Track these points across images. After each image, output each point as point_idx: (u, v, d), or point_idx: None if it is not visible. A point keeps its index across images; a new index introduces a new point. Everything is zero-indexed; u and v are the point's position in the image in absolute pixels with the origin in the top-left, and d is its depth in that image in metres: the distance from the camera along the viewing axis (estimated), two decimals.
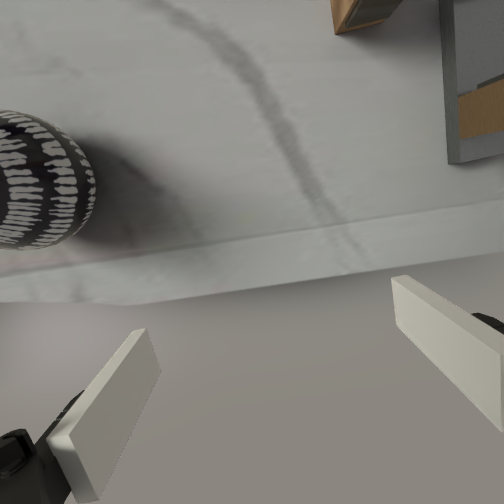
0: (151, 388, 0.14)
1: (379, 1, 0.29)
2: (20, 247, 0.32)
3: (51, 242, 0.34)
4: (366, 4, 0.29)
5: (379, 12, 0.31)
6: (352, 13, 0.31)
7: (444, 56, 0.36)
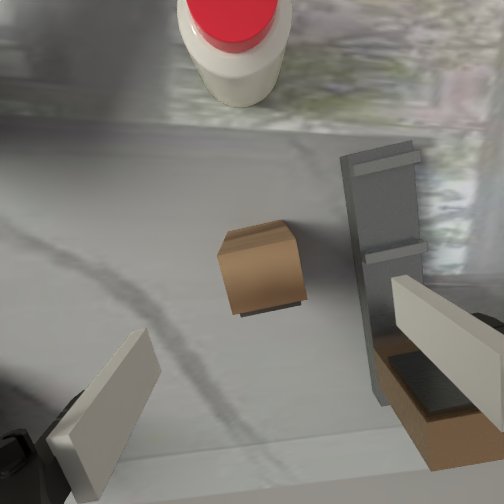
0: (151, 388, 0.14)
1: None
2: None
3: None
4: None
5: None
6: None
7: (360, 297, 0.32)
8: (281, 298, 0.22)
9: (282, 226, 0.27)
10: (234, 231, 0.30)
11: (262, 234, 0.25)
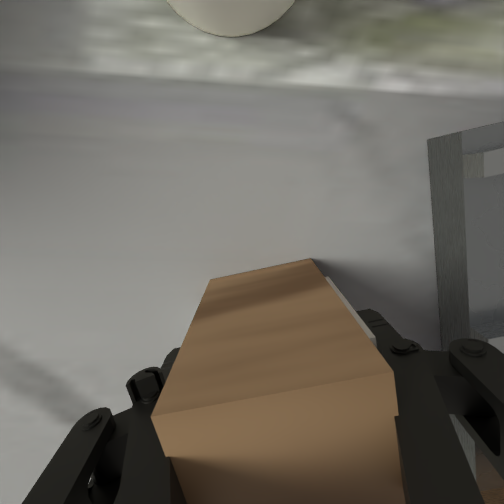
0: None
1: None
2: None
3: None
4: None
5: None
6: None
7: None
8: None
9: (320, 284, 0.12)
10: (221, 281, 0.16)
11: (279, 311, 0.11)
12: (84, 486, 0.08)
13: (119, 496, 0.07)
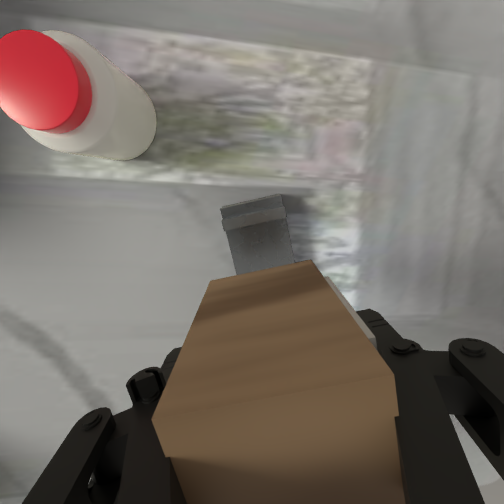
0: None
1: None
2: None
3: None
4: None
5: None
6: None
7: None
8: None
9: (320, 286, 0.12)
10: (221, 283, 0.16)
11: (279, 313, 0.11)
12: (84, 486, 0.08)
13: (118, 496, 0.07)
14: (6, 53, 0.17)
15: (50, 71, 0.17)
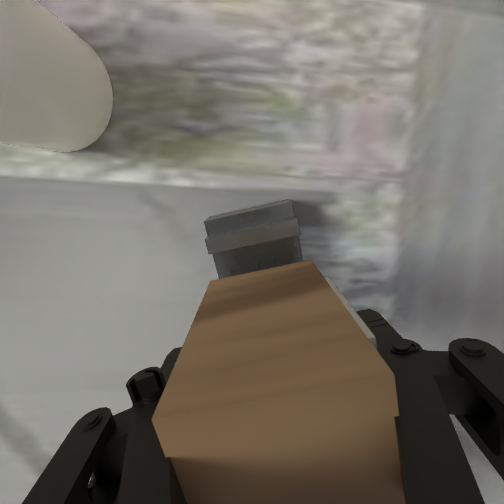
0: None
1: None
2: None
3: None
4: None
5: None
6: None
7: None
8: None
9: (320, 286, 0.12)
10: (221, 283, 0.16)
11: (279, 313, 0.11)
12: (84, 485, 0.08)
13: (118, 496, 0.07)
14: None
15: None
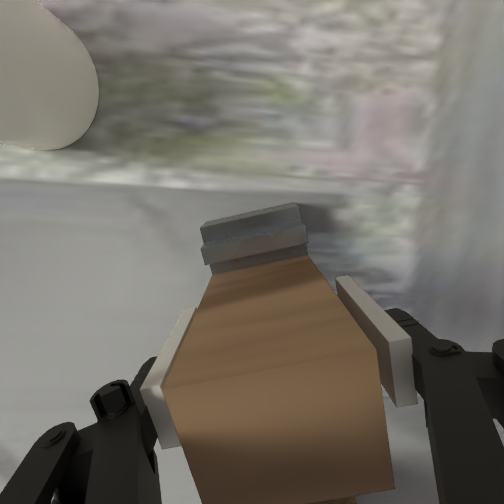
0: None
1: None
2: None
3: None
4: None
5: None
6: None
7: None
8: (329, 486, 0.09)
9: (315, 278, 0.13)
10: (223, 276, 0.17)
11: (277, 302, 0.12)
12: (47, 503, 0.07)
13: None
14: None
15: None
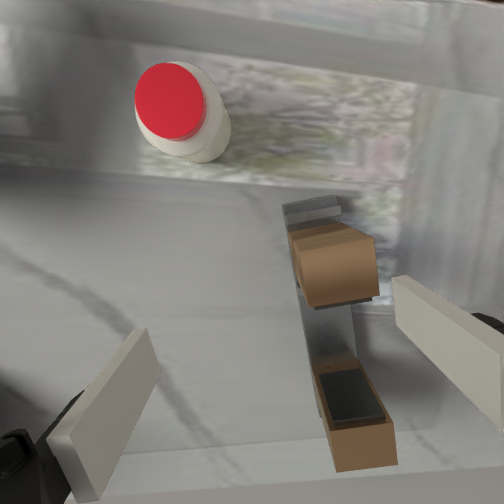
0: (151, 388, 0.14)
1: None
2: None
3: None
4: None
5: None
6: None
7: (302, 321, 0.38)
8: (355, 294, 0.24)
9: (347, 228, 0.29)
10: (295, 232, 0.32)
11: (331, 234, 0.27)
12: None
13: None
14: (151, 80, 0.22)
15: (183, 93, 0.22)
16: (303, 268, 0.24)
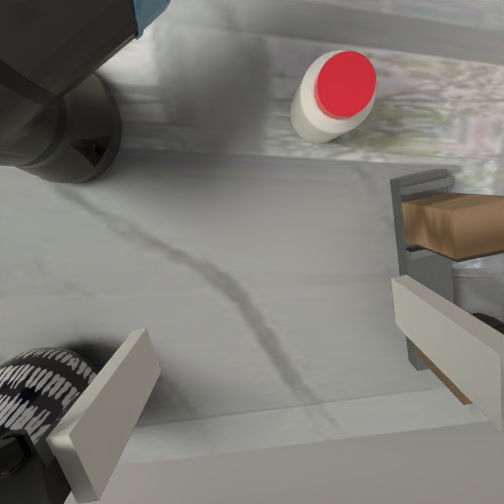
0: (151, 388, 0.14)
1: None
2: None
3: None
4: None
5: None
6: (431, 249, 0.34)
7: None
8: (496, 245, 0.28)
9: (467, 194, 0.33)
10: (410, 202, 0.36)
11: (460, 199, 0.31)
12: None
13: None
14: (333, 66, 0.26)
15: (359, 77, 0.26)
16: (455, 225, 0.28)
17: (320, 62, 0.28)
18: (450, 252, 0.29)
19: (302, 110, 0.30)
